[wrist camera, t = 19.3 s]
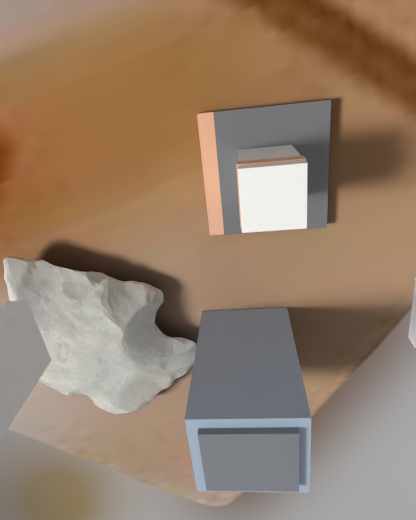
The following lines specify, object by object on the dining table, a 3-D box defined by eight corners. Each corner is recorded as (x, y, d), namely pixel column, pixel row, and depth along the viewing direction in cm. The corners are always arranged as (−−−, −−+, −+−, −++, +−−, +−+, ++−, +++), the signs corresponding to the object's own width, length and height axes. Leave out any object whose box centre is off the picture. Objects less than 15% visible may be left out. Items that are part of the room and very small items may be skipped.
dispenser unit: (202, 311, 45) (183, 425, 30) (287, 307, 44) (312, 424, 29) (210, 374, 49) (197, 502, 34) (288, 371, 48) (310, 504, 33)
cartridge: (236, 148, 35) (236, 167, 27) (292, 143, 35) (308, 161, 27) (240, 201, 38) (240, 234, 29) (292, 197, 37) (308, 229, 29)
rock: (117, 445, 48) (-71, 341, 39) (125, 400, 54) (-35, 300, 45) (228, 367, 42) (39, 221, 33) (223, 326, 49) (63, 194, 39)
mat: (198, 113, 35) (197, 113, 34) (328, 99, 34) (331, 99, 33) (210, 231, 40) (209, 235, 39) (324, 224, 39) (326, 227, 38)
